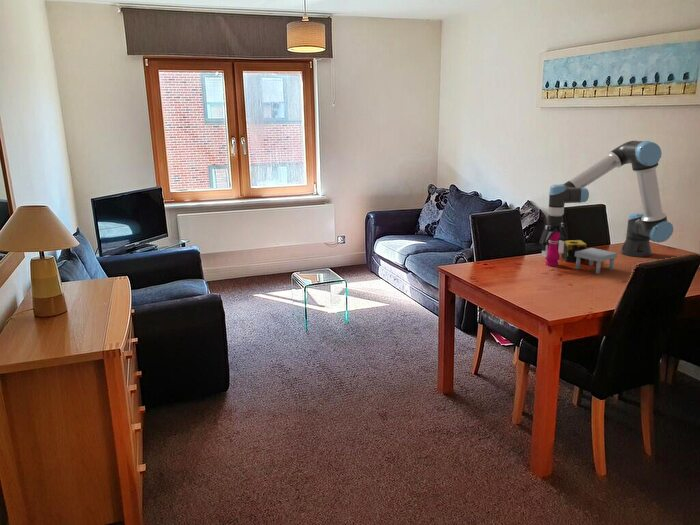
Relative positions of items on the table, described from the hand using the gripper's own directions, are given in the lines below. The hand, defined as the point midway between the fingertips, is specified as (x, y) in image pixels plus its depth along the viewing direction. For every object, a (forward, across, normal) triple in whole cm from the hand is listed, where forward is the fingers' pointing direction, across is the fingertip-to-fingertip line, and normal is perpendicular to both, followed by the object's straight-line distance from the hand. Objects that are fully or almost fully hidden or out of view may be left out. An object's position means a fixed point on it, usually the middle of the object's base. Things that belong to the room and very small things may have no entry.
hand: (552, 254), depth 273 cm
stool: (+6, -10, +18) cm, 21 cm away
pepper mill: (+6, 0, 0) cm, 6 cm away
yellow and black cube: (+6, -18, 0) cm, 19 cm away
